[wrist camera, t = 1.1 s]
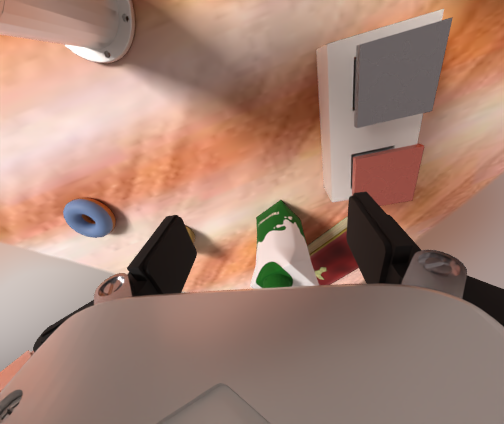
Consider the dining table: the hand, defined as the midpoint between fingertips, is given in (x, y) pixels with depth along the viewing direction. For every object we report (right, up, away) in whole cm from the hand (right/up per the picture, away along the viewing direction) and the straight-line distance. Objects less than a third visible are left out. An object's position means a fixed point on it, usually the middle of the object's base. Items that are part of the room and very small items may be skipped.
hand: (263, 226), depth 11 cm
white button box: (+17, +16, +22) cm, 32 cm away
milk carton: (+5, -1, +34) cm, 34 cm away
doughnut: (-37, +1, +36) cm, 51 cm away
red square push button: (+18, +9, +22) cm, 30 cm away
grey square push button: (+15, +18, +15) cm, 28 cm away
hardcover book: (+18, -9, +40) cm, 44 cm away
